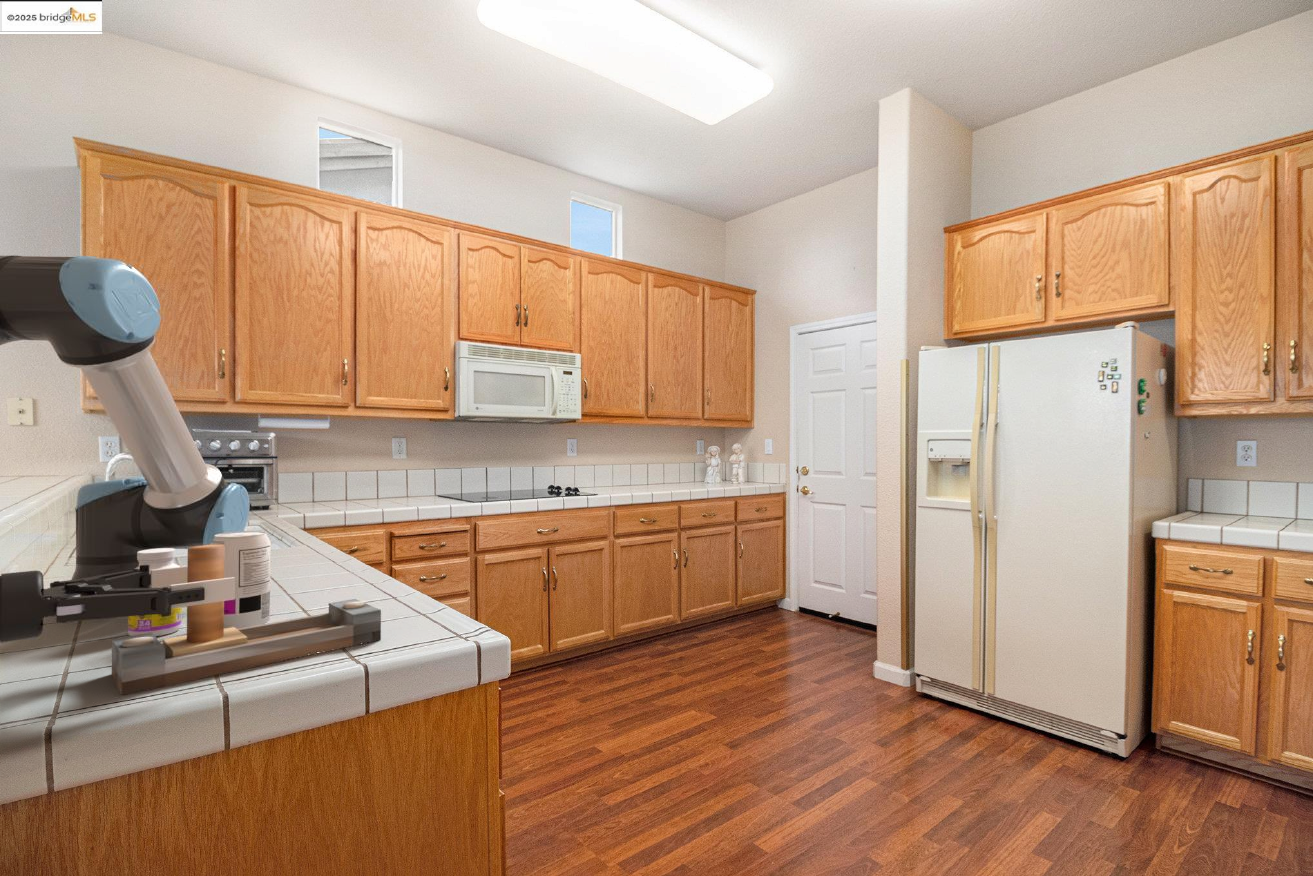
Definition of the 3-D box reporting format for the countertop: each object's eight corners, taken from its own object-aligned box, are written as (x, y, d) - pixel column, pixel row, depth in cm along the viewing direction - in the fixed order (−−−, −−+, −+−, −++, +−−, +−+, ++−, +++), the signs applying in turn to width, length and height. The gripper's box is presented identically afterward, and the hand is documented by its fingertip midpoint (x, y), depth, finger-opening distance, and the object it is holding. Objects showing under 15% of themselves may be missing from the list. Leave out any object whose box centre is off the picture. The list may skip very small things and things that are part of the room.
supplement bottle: (117, 636, 98) (118, 552, 98) (164, 625, 104) (165, 546, 105) (145, 641, 96) (146, 554, 96) (191, 629, 102) (192, 548, 102)
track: (111, 674, 82) (112, 635, 82) (354, 627, 103) (355, 596, 103) (122, 695, 75) (122, 653, 75) (380, 640, 96) (380, 607, 96)
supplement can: (205, 637, 98) (206, 538, 98) (213, 624, 105) (214, 532, 105) (267, 630, 101) (268, 535, 101) (271, 618, 109) (271, 529, 109)
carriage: (162, 654, 84) (163, 547, 85) (233, 641, 90) (234, 541, 90) (172, 667, 79) (174, 553, 80) (247, 652, 85) (248, 546, 85)
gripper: (-8, 621, 79) (199, 593, 95) (-8, 670, 62) (246, 626, 77) (-7, 561, 79) (200, 542, 95) (-7, 592, 62) (246, 564, 77)
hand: (221, 580), depth 86 cm, fingers open, 13 cm apart
